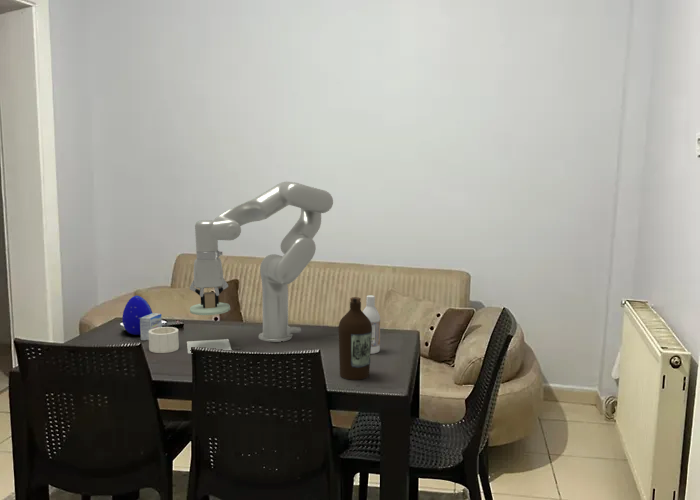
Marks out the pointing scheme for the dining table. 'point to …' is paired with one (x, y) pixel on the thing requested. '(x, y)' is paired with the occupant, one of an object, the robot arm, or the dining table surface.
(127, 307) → the ornament
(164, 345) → the bowl
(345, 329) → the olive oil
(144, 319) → the medicine box
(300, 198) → the robot arm
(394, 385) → the dining table surface
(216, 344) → the mat
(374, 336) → the bath foam
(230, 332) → the dining table surface
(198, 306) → the lid
